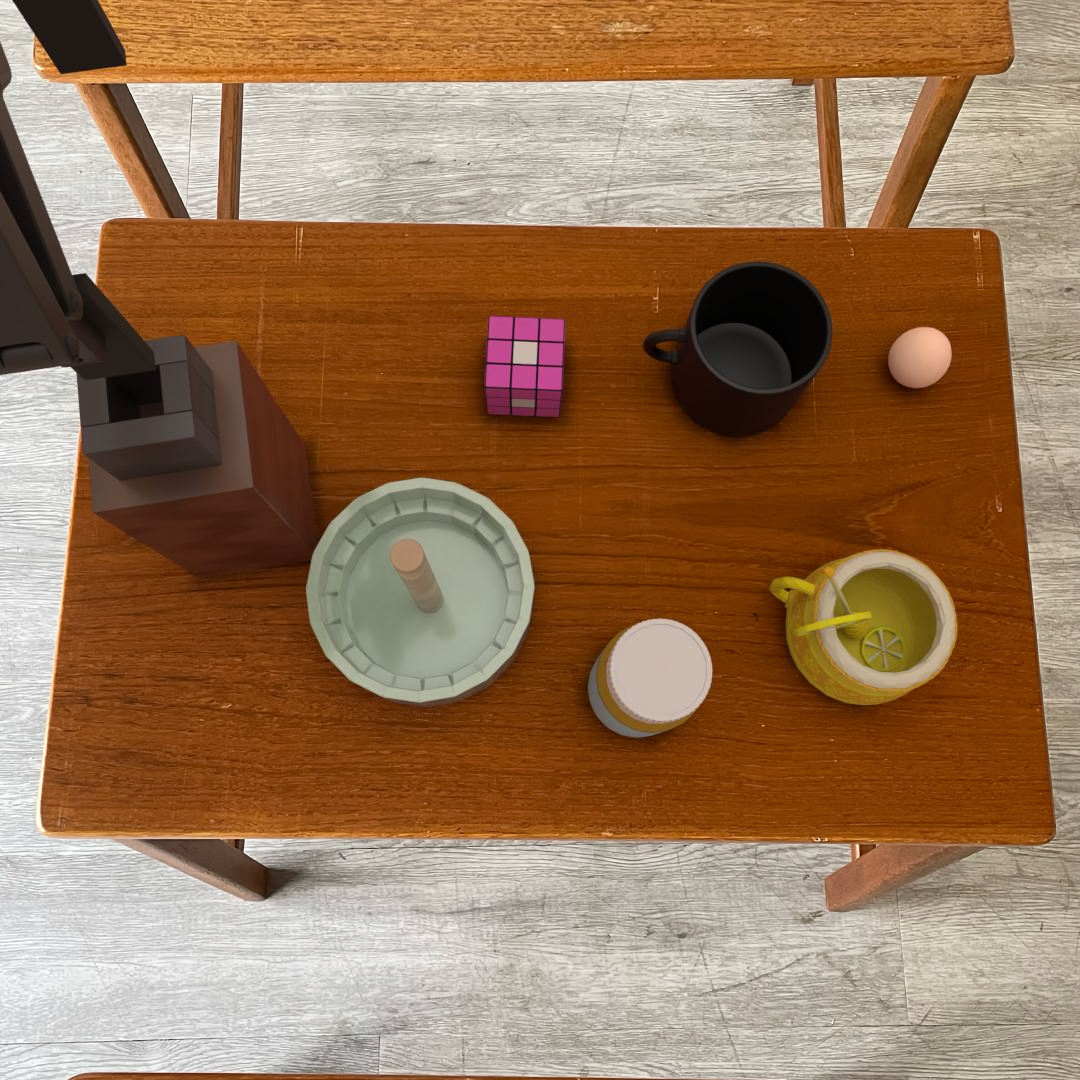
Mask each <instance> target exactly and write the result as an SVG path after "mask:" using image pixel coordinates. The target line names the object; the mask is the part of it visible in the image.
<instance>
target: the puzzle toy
mask: <svg viewBox="0 0 1080 1080" xmlns="http://www.w3.org/2000/svg"><path fill="white" fill-rule="evenodd" d="M486 331H487V332H486V349H485V366H484V367H485V369H484V386H483V388H484V399H485V409H486V414H487V415H503V416H505V415H506V416H511V415H512V416H525V417H535V416H536V417H546V418H560V416H561V410H562V402H563V401H562V399H563V391H564V370H565V369H564V367H565V366H564V365H565V343H566V340H565V339H566V320H565V318H554V317H553V318H550V317H540V318H539V317H533V316H531V317H528V316H527V317H526V316H508V315H507V316H506V315H505V316H504V315H488V317H487V330H486Z"/></svg>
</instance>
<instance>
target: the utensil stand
mask: <svg viewBox="0 0 1080 1080" xmlns="http://www.w3.org/2000/svg"><path fill="white" fill-rule="evenodd" d="M144 341H145V342H146V343H147V344H148V346H149V347H150V348H151V349H152V350H153V351H154V356H155V367H156V370H152V371H145V372H138V373H132V374H125V375H119V376H112V377H105V378H99V379H92V380H84V379H83V378H82V377H81V376H80V375H79V374H77V373H76V372H75V373H76V387H77V398H78V399H77V400H78V411H79V412H78V413H79V424H80V425H79V426H80V434H81V435H80V436H81V448H82V449H81V450H82V455H84V456H85V457H86V458H87V460H88V471H89V481H90V482H89V483H90V484H89V485H90V496H91V497H90V498H91V507H92V508H91V509H92V513H93V514H94V515H95V516H98V517H99V518H101V519H102V520H104V521H106V522H108V523H109V524H111V525H112V526H114V527H116V528H117V529H119V530H120V531H122V532H123V533H126V534H127V535H129V536H130V537H131V538H133V539H135V540H137V541H138V542H140V543H142V544H144V545H145V546H147V547H148V548H150V549H152V550H153V551H155V552H157V554H160V555H161V556H163V557H165V558H166V559H168V560H170V562H172V563H174V564H176V565H178V566H179V567H181V568H182V569H184V570H186V571H188V572H189V573H191V574H192V575H194V576H196V577H198V578H199V579H204V578H205V579H206V578H213V577H218V576H225V575H231V574H236V573H242V572H248V571H249V572H250V571H256V570H260V569H261V570H262V569H268V568H274V567H281V566H287V565H292V564H299V563H304V562H311V559H312V555H313V552H314V550H315V548H316V547H317V545H318V543H319V539H318V531H317V523H316V515H315V507H314V499H313V491H312V483H311V477H310V476H311V475H310V468H309V459H308V452H307V447H306V445H305V443H304V441H303V440H302V438H301V437H300V435H299V433H298V432H297V431H296V429H295V428H294V426H293V424H292V423H291V422H290V420H289V419H288V417H287V415H286V413H285V412H284V411H283V409H282V408H281V406H280V404H279V403H278V401H277V400H276V399H275V397H274V395H273V394H272V392H271V391H270V389H269V388H268V386H267V384H265V382H264V380H263V378H262V377H261V376H260V374H259V373H258V371H257V370H256V368H255V366H254V365H253V363H252V362H251V360H250V359H249V357H248V356H247V354H246V353H245V352H244V350H243V348H242V346H241V345H240V344H239V342H238V341H237V340H232V341H226V342H225V341H224V342H219V343H211V344H205V345H197V346H193V344H192V343H191V341H190V340H189V339H188V337H187V336H186V334H179V335H172V336H165V337H159V338H152V339H146V340H144Z"/></svg>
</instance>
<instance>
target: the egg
mask: <svg viewBox="0 0 1080 1080" xmlns="http://www.w3.org/2000/svg"><path fill="white" fill-rule="evenodd" d="M952 355H953V354H952V347H951V342H950V340H949V339H948V337H947V336H946V335H945V334H944V333H943V332H941V331H940V330H938V329H936V328H935V327H929V326H920V327H919V326H918V327H915V328H911V329H909V330H907V331H905V332H903V333H901V335H900V336H899V337H898V338H897V339H896V340H894V342H893V344H892V345H891V347H890V349H889V351H888V356H887V364H888V369H889V372H890V374H891V376H892V378H893V379H894V380H896V382H897V383H899V384H900V385H901V386H904V387H907V388H912V389H920V388H921V389H922V388H927V387H929V386H931V385H934V384H935V383H937V382H938V381H939V380H941V379H942V378H943V376H944V375H946V373H947V371H948V369H949V367H950V366H951V362H952V357H953V356H952Z"/></svg>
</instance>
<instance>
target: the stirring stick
mask: <svg viewBox="0 0 1080 1080" xmlns="http://www.w3.org/2000/svg"><path fill="white" fill-rule="evenodd" d="M390 560H391V563H392V565H393V566H394V568H395V569H396V571H397V573H398V574H399V576H400V578H401V579H402V581H403V583H404V584H405V586H406V587H407V589H408V591H409V592H410V594H411V596H412V597H413V599H414V601H415V602H416V604H417V605H418V607H419V608H420V609H421V610H422V611H423V612H426V613H433V612H436V611H438V610H439V609H440V608H441V606H442V604H443V594H442V592H441V590H440V587H439V585H438V583H437V581H436V578H435V576H434V574H433V571H432V569H431V567H430V564H429V562H428V560H427V557H426V555H425V553H424V551H423V548H422V546H421V545H420V544H419V543H418V542H417V541H415V540H412V539H402V540H400V541H398V542H396V543H395V544H394V545H393V547H392V549H391V551H390Z"/></svg>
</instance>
